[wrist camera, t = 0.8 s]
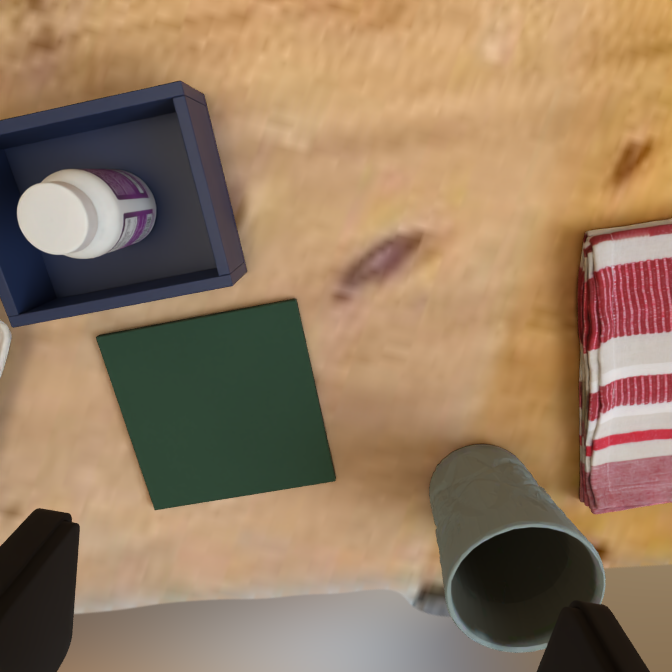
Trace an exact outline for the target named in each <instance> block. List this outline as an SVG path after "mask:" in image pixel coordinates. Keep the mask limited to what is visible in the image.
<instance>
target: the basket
mask: <svg viewBox="0 0 672 672" xmlns="http://www.w3.org/2000/svg"><path fill="white" fill-rule="evenodd" d="M64 169H116V170H123V171H127V172H129V173H132V174H134V175H135V176H137V177H139V178H140V179H141V180H142V181H143V182H145V184H146V185H147V186H148V188H149V189H150V190H151V192H152V194H153V196H154V199H155V203H156V208H157V209H156V219H155V223H154V226H153V228H152V230H151V231H150V233H149V234H148V235H147V236H146V237H145V238H144V239H142V240H141V241H139V242H137V243H135V244H133V245H130V246H127V247H124V248H121V249H118V250H115V251H112V252H109V253H106V254H103V255H101V256H99V257H95V258H89V259H77V258H71V257H68V256H65V255H54V254H49V253H46V252H43V251H41V250H39V249H38V248H36V247H35V246H33V245H32V244H31V243H30V242H29V241H28V240H27V239H26V237H25V236H24V235H23V233H22V231H21V229H20V227H19V223H18V219H17V206H18V202H19V200H20V198H21V196H22V195H23V193H24V192H25V191H26V190H27V189H28V188H30V187H31V186H33V185H35V184H38V183H41V182H42V181H43V180H44V179H45V178H46V177H48V176H49V175H51V174H53V173H55V172H58V171H60V170H64ZM246 272H247V268H246V264H245V260H244V255H243V251H242V247H241V243H240V239H239V235H238V231H237V227H236V223H235V219H234V215H233V210H232V206H231V202H230V198H229V194H228V190H227V186H226V182H225V178H224V174H223V170H222V165H221V161H220V157H219V153H218V149H217V145H216V141H215V137H214V133H213V129H212V125H211V120H210V116H209V112H208V108H207V104H206V100H205V96H204V94H202V93H201V92H199V91H197V90H195V89H194V88H192V87H190V86H189V85H187V84H185V83H183V82H182V81H177V82H172V83H168V84H163V85H159V86H154V87H150V88H145V89H141V90H136V91H132V92H127V93H122V94H118V95H113V96H109V97H104V98H100V99H95V100H91V101H86V102H82V103H77V104H73V105H68V106H64V107H59V108H54V109H50V110H45V111H41V112H36V113H32V114H27V115H23V116H18V117H14V118H9V119H5V120H0V298H1V301H2V303H3V306H4V308H5V311H6V314H7V316H8V318H9V321H10V323H11V326H12V327H13V328H14V327H19V326H25V325H30V324H35V323H40V322H46V321H51V320H56V319H61V318H67V317H72V316H77V315H82V314H88V313H93V312H98V311H103V310H109V309H114V308H119V307H124V306H130V305H135V304H140V303H145V302H151V301H156V300H161V299H166V298H172V297H177V296H182V295H187V294H193V293H198V292H203V291H208V290H214V289H219V288H224V287H229V286H233V285H234V284H235V283H236V282H237V281H238V280H239V279H240V278H241V277H242V276H243V275H244V274H245V273H246Z"/></svg>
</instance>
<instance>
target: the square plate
mask: <svg viewBox="0 0 672 672" xmlns="http://www.w3.org/2000/svg"><path fill="white" fill-rule="evenodd" d="M11 339H12V335H11V332H10V329H9V328H8V326H7V325H6V324H5V323H4V322H3V321H1V320H0V378H1V375H2V372H3V369H4V366H5V363H6V359H7V356H8V352H9V348H10V343H11Z"/></svg>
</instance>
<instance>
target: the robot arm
mask: <svg viewBox="0 0 672 672" xmlns="http://www.w3.org/2000/svg"><path fill="white" fill-rule="evenodd" d="M79 532H80V526H79V524H77V523H72V517H71V515H70V514H69V513H64V512H58V511H52V510H46V509H41V508H39V509H36V510H35V511H33V512H32V513H31V514H30V515H29V516H28V517H27V519H26V520H25V521H24V522H23V523H22V524H21V525H20V526H19V527H18V528H17V529H16V530H15V531H14V532H13V534H12V535H11V536H10V537H9V538H8V539H7V540H6V541H5V542H4V543H3V544H2V545H1V546H0V672H57V670H58V669H59V667H60V665H61V663H62V662H63V660H64V658H65V656H66V654H67V651H68V649H69V646H70V642H71V638H72V629H73V615H74V602H75V588H76V574H77V560H78V546H79ZM537 672H650V671H649V670H648V668H647V667H646V665H645V664H644V662H643V660H642V659H641V657H640V656H639V654H638V653H637V651H636V649H635V648H634V646H633V645H632V643H631V642H630V640H629V638H628V637H627V635H626V634H625V632H624V631H623V629H622V627H621V626H620V624H619V623H618V621H617V620H616V618H615V616H614V615H613V613H612V612H611V611H610V609H609V608H608V607H607V606H605V605H602V604H596V603H590V602H584V601H578V600H574V601H573V602H571V603H570V605H569V607H564V608H562V610H561V612H560V614H559V616H558V619H557V622H556V624H555V627H554V629H553V632H552V634H551V637H550V639H549V642H548V644H547V647H546V650H545V652H544V655H543V657H542V660H541V662H540V665H539V667H538V670H537Z"/></svg>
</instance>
